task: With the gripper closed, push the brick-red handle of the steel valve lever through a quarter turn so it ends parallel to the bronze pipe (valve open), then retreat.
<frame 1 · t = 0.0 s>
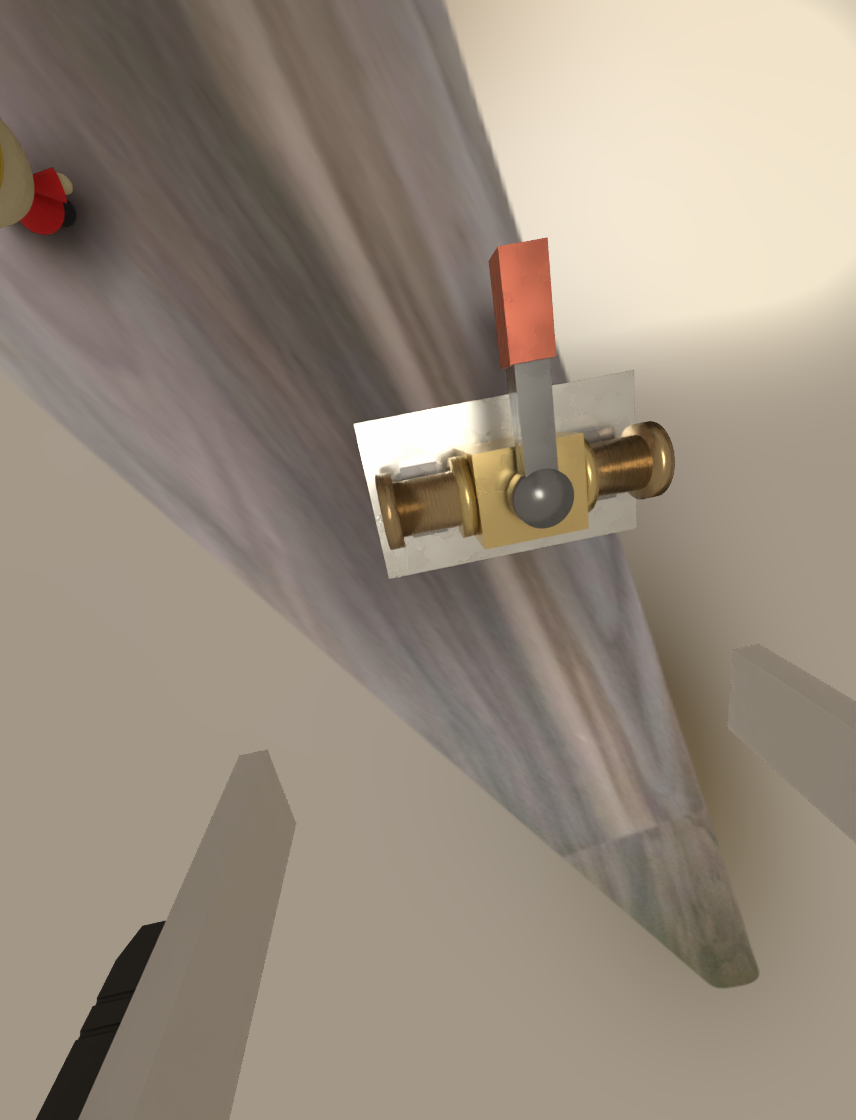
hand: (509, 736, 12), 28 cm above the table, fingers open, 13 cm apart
lever: (530, 401, 27), point 9 cm above the table, hinge at 0.0°
toy: (57, 218, 29), on the table
valve body: (503, 478, 38), on the table
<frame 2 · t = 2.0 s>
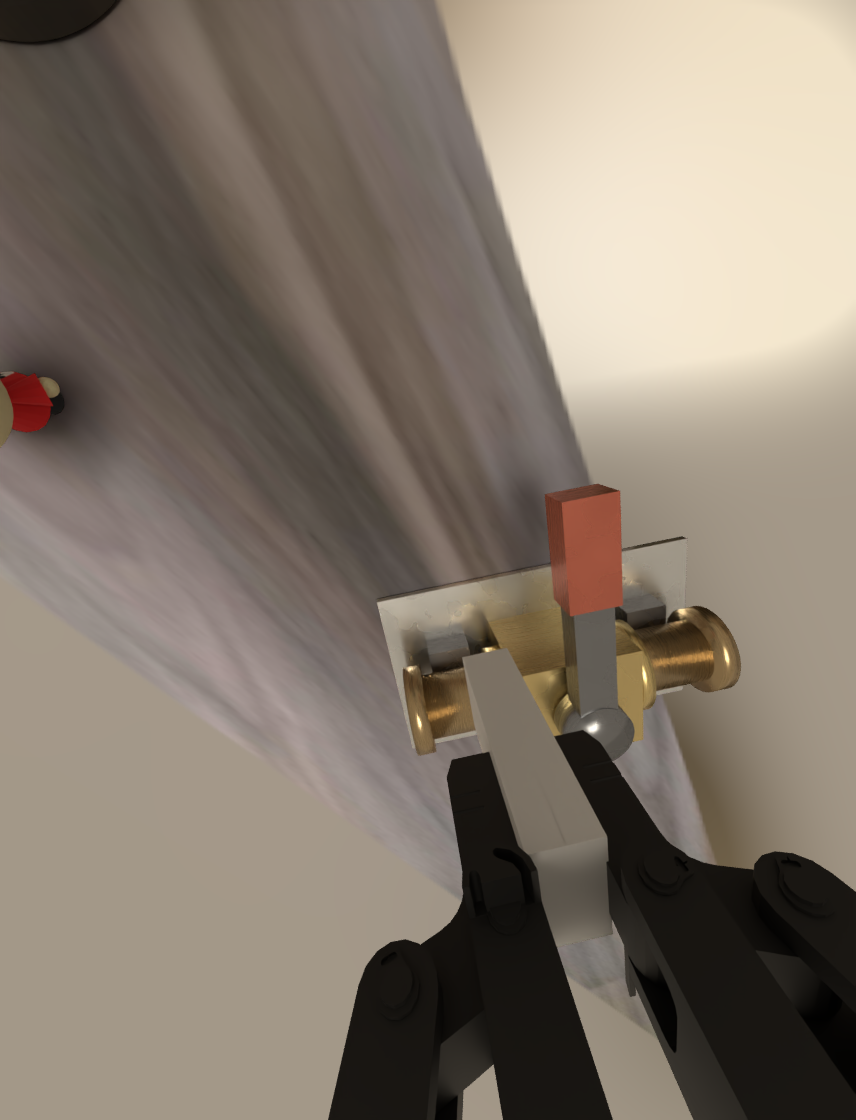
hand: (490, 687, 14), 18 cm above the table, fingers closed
lever: (588, 637, 23), point 9 cm above the table, hinge at 0.0°
toy: (43, 405, 26), on the table
valve body: (539, 645, 34), on the table
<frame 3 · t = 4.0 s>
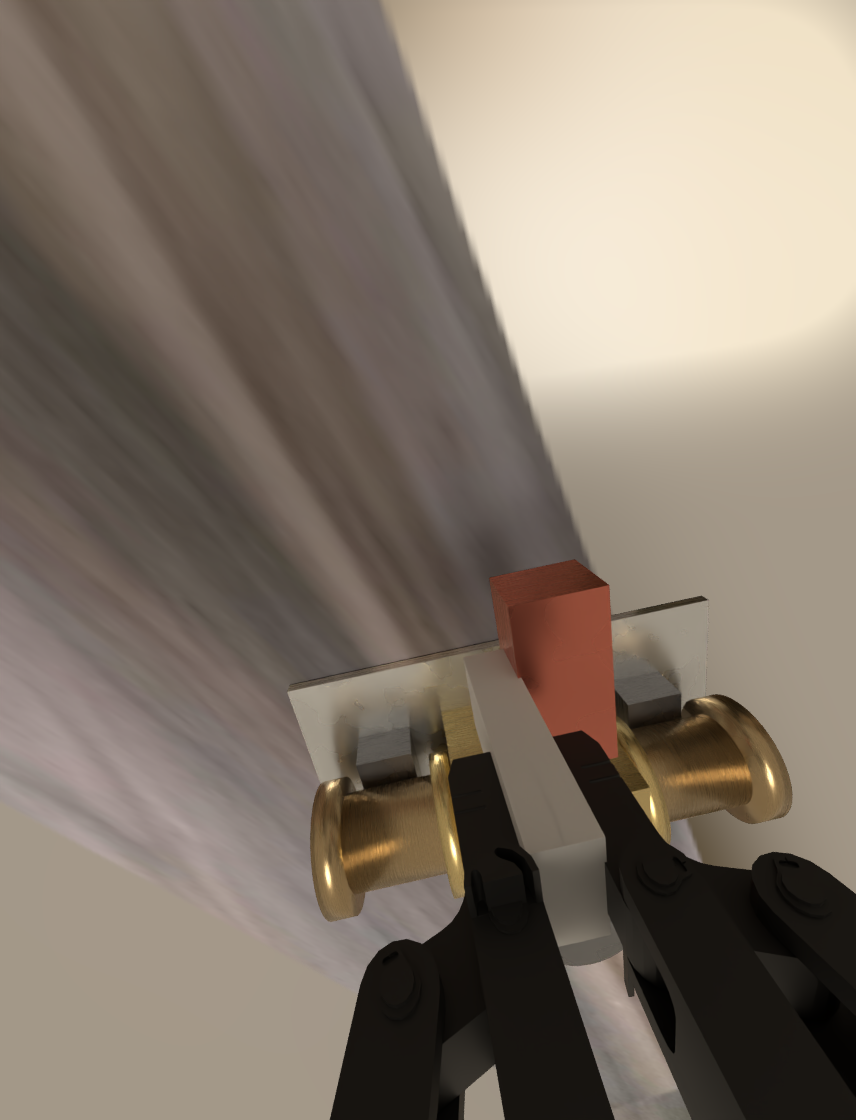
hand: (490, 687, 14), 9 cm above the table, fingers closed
lever: (565, 788, 15), point 9 cm above the table, hinge at 0.0°, touching gripper
valve body: (513, 737, 26), on the table
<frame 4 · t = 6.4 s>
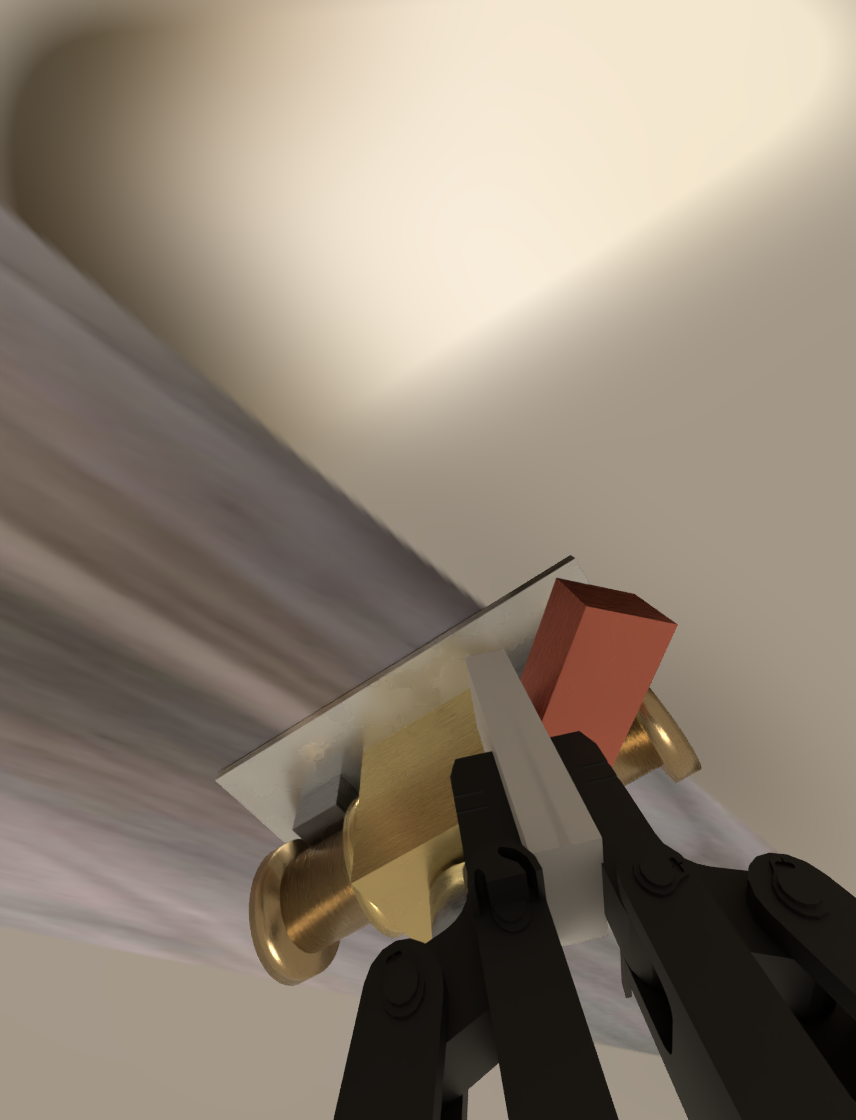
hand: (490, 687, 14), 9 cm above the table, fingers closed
lever: (528, 806, 15), point 9 cm above the table, hinge at -46.7°, touching gripper
valve body: (450, 749, 26), on the table
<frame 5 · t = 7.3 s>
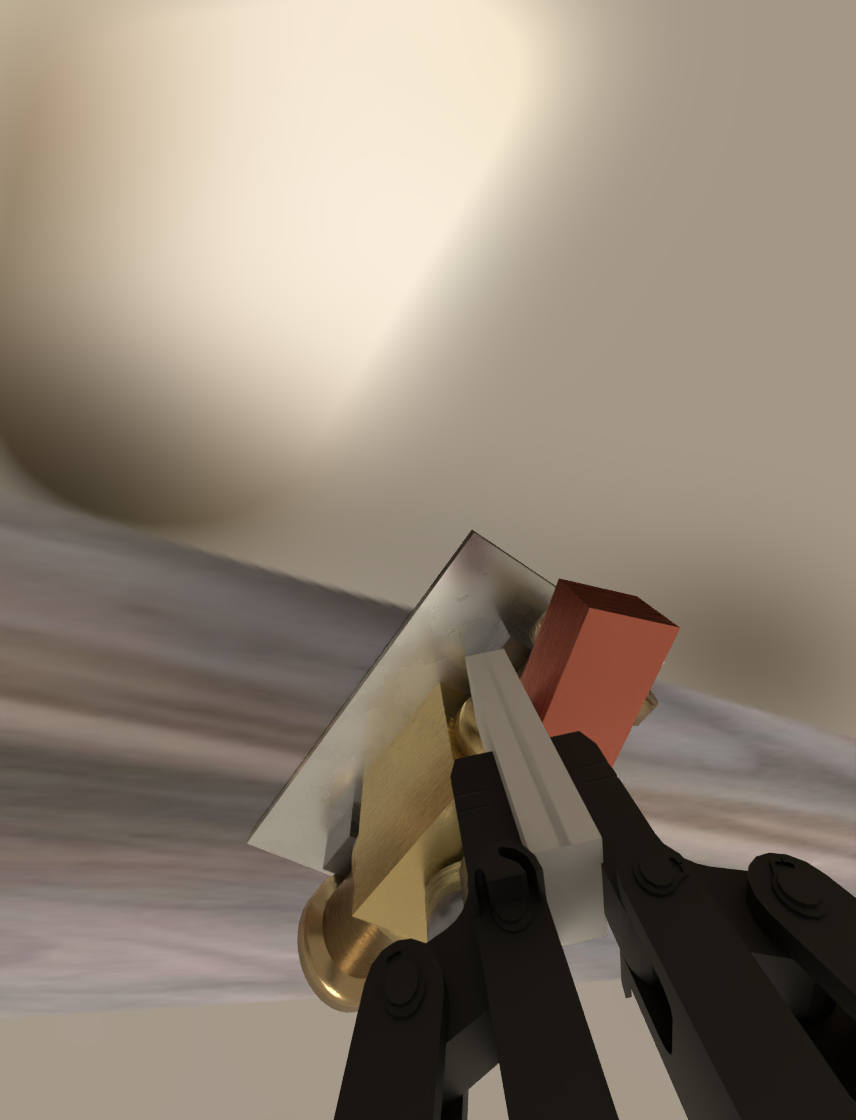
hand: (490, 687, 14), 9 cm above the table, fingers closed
lever: (526, 806, 15), point 9 cm above the table, hinge at -70.1°, touching gripper
valve body: (447, 748, 26), on the table
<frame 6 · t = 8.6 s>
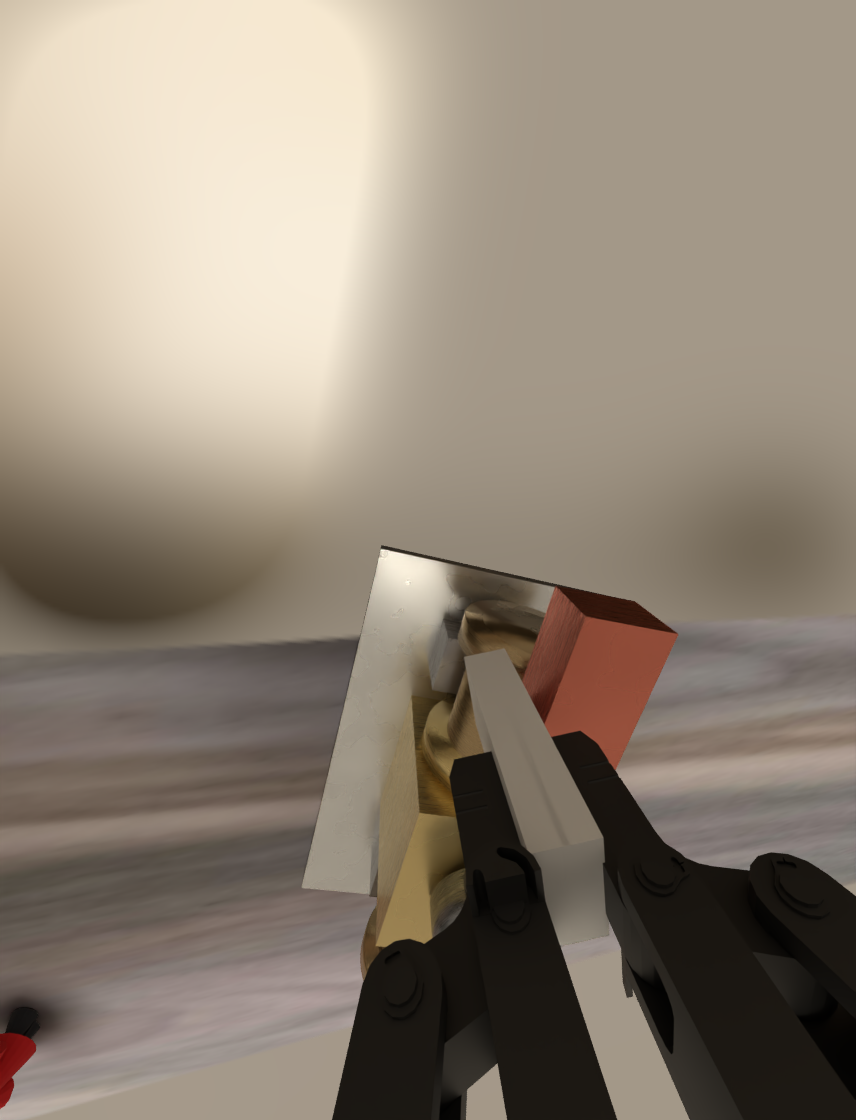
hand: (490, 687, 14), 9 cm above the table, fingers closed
lever: (528, 814, 15), point 9 cm above the table, hinge at -88.7°, touching gripper
toy: (31, 1016, 31), on the table
valve body: (450, 752, 26), on the table
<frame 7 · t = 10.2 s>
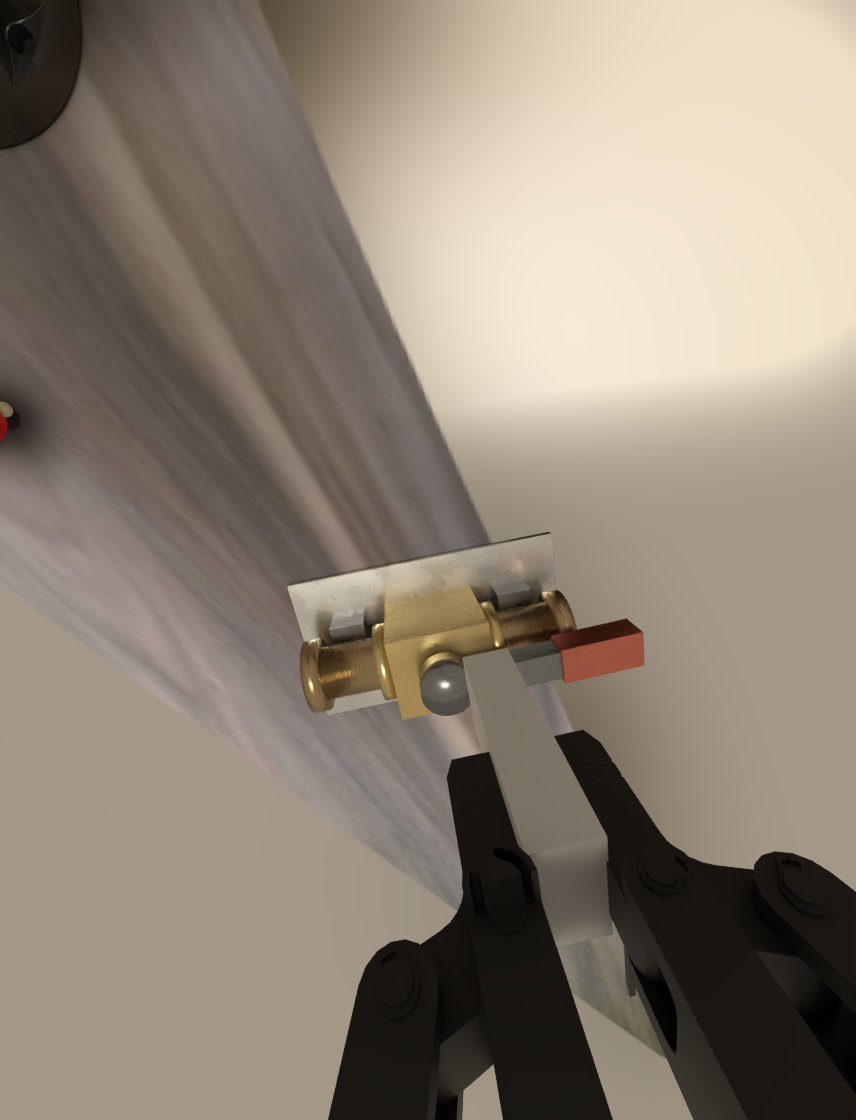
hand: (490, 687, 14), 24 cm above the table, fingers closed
lever: (528, 665, 31), point 9 cm above the table, hinge at -88.7°
toy: (3, 422, 32), on the table
valve body: (433, 625, 40), on the table
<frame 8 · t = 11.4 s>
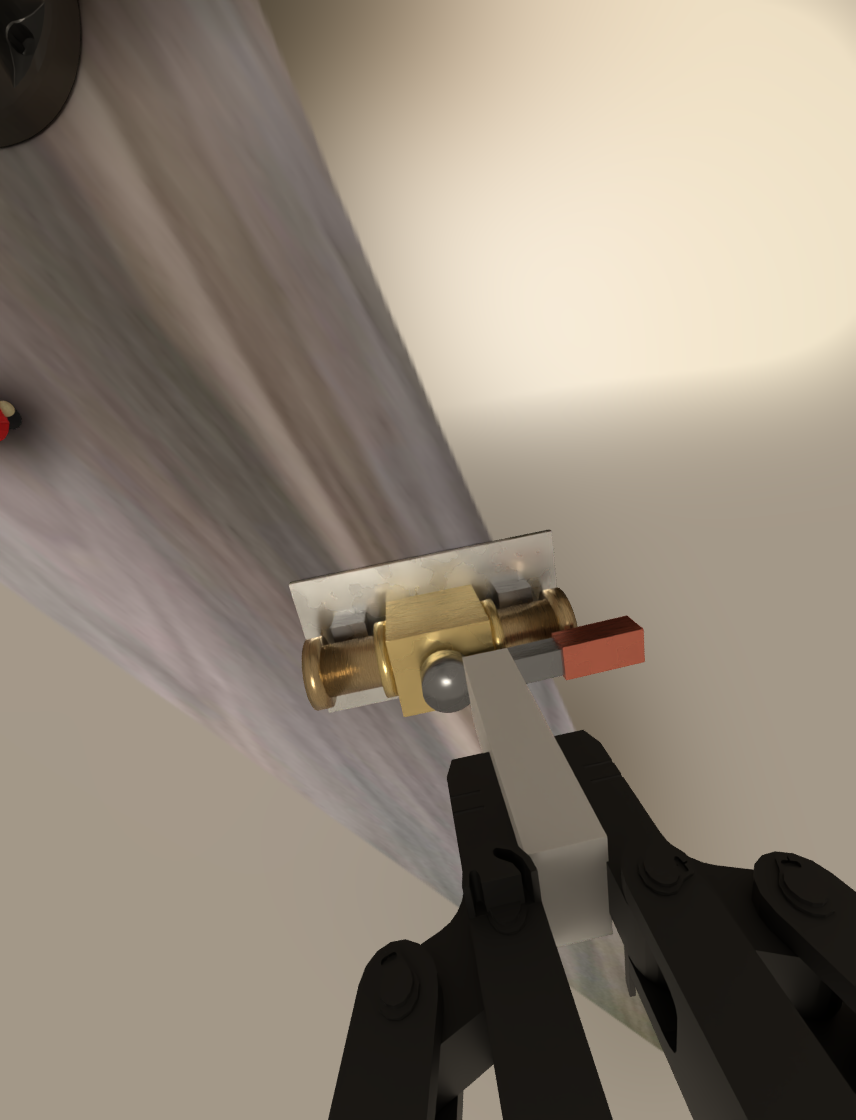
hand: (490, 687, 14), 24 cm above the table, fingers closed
lever: (529, 662, 31), point 9 cm above the table, hinge at -88.7°
toy: (4, 422, 32), on the table
valve body: (434, 623, 40), on the table
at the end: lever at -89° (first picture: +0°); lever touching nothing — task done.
